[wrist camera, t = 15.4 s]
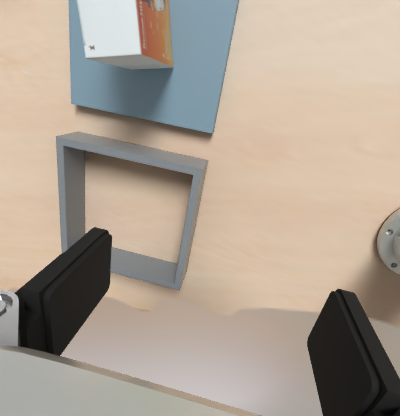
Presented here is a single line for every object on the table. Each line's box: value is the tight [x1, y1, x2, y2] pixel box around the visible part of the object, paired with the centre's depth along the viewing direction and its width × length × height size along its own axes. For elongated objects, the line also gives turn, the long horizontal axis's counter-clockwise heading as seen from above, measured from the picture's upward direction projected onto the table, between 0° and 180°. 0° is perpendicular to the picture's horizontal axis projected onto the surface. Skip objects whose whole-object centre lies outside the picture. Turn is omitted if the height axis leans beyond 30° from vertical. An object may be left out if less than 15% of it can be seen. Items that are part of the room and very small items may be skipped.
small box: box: [77, 0, 173, 70], centre depth 27 cm, size 8×6×10 cm
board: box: [69, 0, 239, 133], centre depth 32 cm, size 20×20×2 cm
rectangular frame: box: [56, 132, 208, 290], centre depth 41 cm, size 20×20×5 cm
